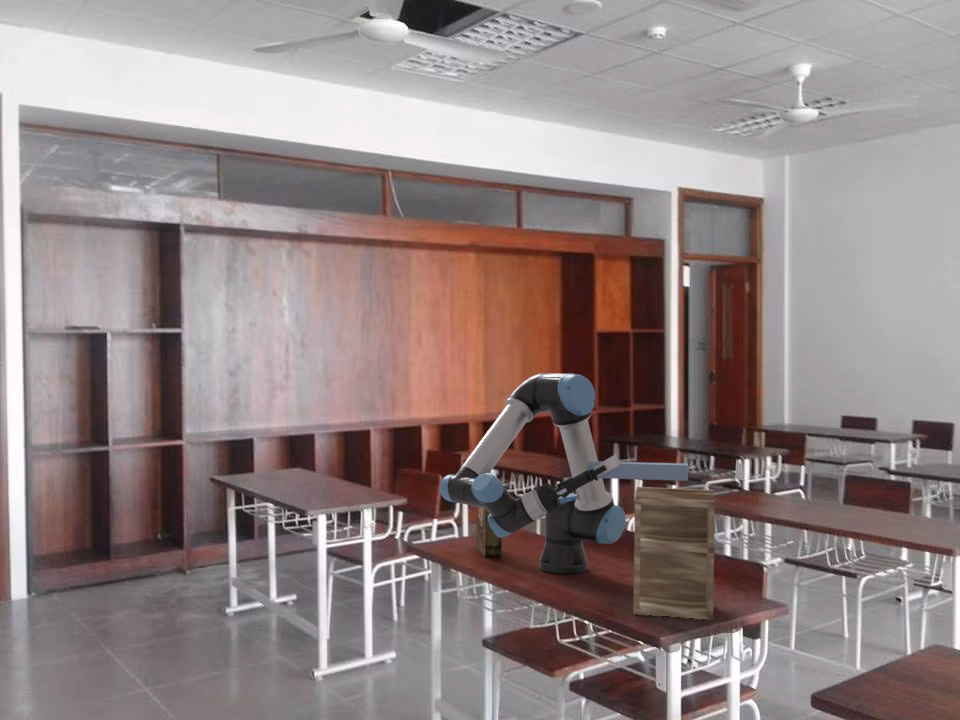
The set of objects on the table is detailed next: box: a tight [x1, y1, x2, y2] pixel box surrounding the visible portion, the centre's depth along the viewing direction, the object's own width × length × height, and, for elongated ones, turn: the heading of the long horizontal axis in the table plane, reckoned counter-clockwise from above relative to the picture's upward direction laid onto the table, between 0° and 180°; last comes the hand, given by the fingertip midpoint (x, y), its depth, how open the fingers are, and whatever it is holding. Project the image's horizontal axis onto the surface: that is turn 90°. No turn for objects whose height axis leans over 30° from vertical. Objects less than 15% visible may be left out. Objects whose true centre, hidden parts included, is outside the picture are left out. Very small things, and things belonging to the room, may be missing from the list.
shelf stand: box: [632, 486, 716, 621], centre depth 236 cm, size 14×20×32 cm
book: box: [475, 479, 503, 557], centre depth 303 cm, size 16×6×25 cm, turn 12°
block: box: [588, 460, 689, 482], centre depth 237 cm, size 4×26×4 cm, turn 78°
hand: (617, 460), depth 239 cm, fingers closed on block, 4 cm apart
